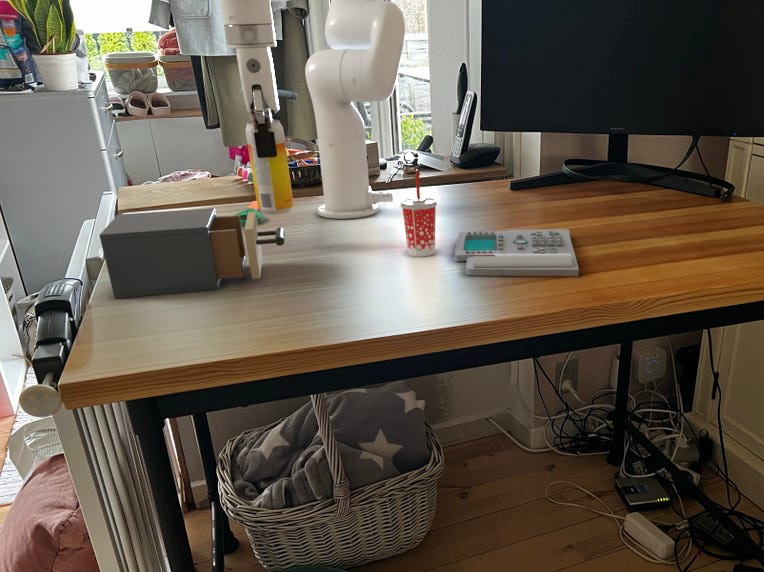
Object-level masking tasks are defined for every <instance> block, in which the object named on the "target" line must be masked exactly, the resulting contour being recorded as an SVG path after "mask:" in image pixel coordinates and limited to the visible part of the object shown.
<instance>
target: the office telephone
mask: <svg viewBox="0 0 764 572" xmlns="http://www.w3.org/2000/svg"><path fill="white" fill-rule="evenodd" d="M454 261H455V262H465V274H466V275H468V276H482V277H483V276H489V277H490V276H493V277H494V276H495V277H497V276H499V277H501V276H507V277H508V276H509V277H579V272H580V268H579V265H578V260H577V257H576V253H575V250H574V246H573V242H572V239H571V233H570V229H568V228H550V229H549V228H547V229H546V228H545V229H543V228H542V229H541V228H540V229H539V228H538V229H507V230H498V231H497V230H496V231H495V230H492V231H491V230H490V231H489V230H488V231H465V230H462V231H460V232H459V233H458V236H457V241H456V245H455V249H454Z"/></svg>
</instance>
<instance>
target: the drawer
mask: <svg viewBox="0 0 764 572" xmlns="http://www.w3.org/2000/svg"><path fill="white" fill-rule="evenodd" d="M240 220H241V219H240V215H235V214H231V215H219V216H218V215H216V217H214V218H213V221H212V224H211V226H210V229H209V235H210V240H211V246H212V252H213V257H214V263H215V269H216V274H217V279H221V280H223V279H236V278H244V273H245V268H246V264H247V255H248V263H249V269H250V274H251V275H250V276H251V279H252V280H260V279H261V273H262V267H263V252H262V245H270V244H275V245H277V246H279V247H280V246H281V247H282V246H283V245H284V244H285V235H286V234H285V233H286V232H285V229H284V228H283V227H277V228H276V229H275V230H267V231H259V224H257V217H256V212H248V215H247V218H246V219H245V220H246V225H245V226H244V228H242V227H243V226H241V221H240ZM243 229H244V230H243ZM243 231H244V235H243ZM244 236H245V241H244ZM266 236H267V237H268V236H274V238H267V239H266V238H265V239H264V238H263V239H260V238H261V237H266ZM245 242H246V243H245ZM245 244H246V247H245ZM246 250H247V251H246Z"/></svg>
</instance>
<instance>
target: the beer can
mask: <svg viewBox="0 0 764 572" xmlns="http://www.w3.org/2000/svg"><path fill="white" fill-rule="evenodd" d="M267 124H268V122H267ZM271 126H272V131H274V135H275V142H276V149H277V156H276V157H267V158H258V157H257V152H256V145H255V139H254V132H255V131H254V124H253V120H251V121H247V122H246V127H245V129H244V130H245V135H246V136H245V137H246V143H247V148H248V155H249V161H250V167H251V174H252V180H253V186H254V194H255V200H256V201H257V206H258V210H259V211H260V212H261V214H262V215H271V216H273V215H274V216H275V215H282V214H286V213H289V212H291V211H292V208H293V207H294V197H293V191H292V183H291V177H290V176H291V175H290V167H289V162H288V154H287V146H286V140H285V135H284V134H285V133H284V127H283V125H282V124H281V122H280V120H279V119H272V120H271Z"/></svg>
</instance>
